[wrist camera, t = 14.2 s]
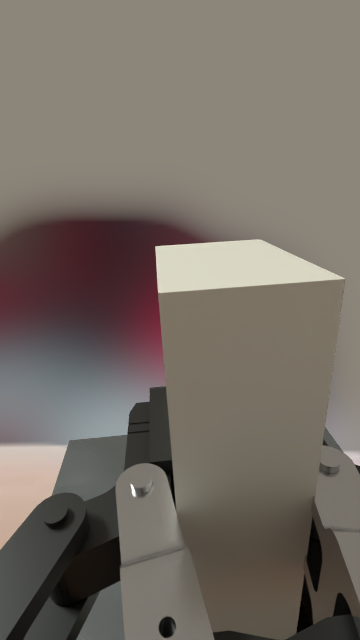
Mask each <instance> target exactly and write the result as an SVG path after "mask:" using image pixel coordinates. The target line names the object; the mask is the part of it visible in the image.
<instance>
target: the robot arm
mask: <svg viewBox="0 0 360 640" xmlns="http://www.w3.org/2000/svg"><path fill="white" fill-rule="evenodd" d="M311 512H312V523H311V530H310V538H309V545H308V552H307V555H305V559H304V566H303V569H304V573H305V577H306V581H307V585H308V589H309V593H310V598H311V603H312V612H313V625H312V626H310V627H308V628H306V629H304V630H302V631H300V632H299V633H297V634H295V635H293V636H291V637H289V638H287V639H285V640H360V466H358V465H355V464H354V463H353V461H352V460H351V459H350V458H349V457H348V456H347V455H346V454H344V453H343V452H341V451H340V450H338V449H335V448H333V447H329V446H328V445H327V443H326V442H325V440H324V439H323V444H322V451H321V458H320V466H319V473H318V480H317V487H316V494H315V496H313V500H312V507H311ZM119 581H121V593H122V607H123V620H124V634H125V640H276V639H271V638H265V637H260V636H255V635H250V634H245V633H240V632H235V631H230V630H228V631H221V632H212V629H211V625H210V621H209V618H208V614H207V610H206V607H205V603H204V600H203V596H202V592H201V589H200V585H199V581H198V578H197V574H196V570H195V567H194V563H193V560H192V556H191V553H190V550H189V547H188V545H185V543H184V540H183V536H182V532H181V529H180V525H179V521H178V517H177V513H176V501H175V489H174V477H173V464H172V452H171V440H170V428H169V416H168V404H167V392H166V386H165V387H154V388H150V402H143V403H136V404H135V406H134V407H133V409H132V410H131V412H130V414H129V426H128V435H127V444H126V454H125V464H124V471H123V473H122V474H121V475H120V477H119V478H118V480H117V482H116V485H115V486H114V487H113V488H111V489H110V490H109V491H107V492H106V493H104V494H101V495H99V496H97V497H94V498H92V499H89V500H87V501H83V499H82V498H81V497H80V496H78V495H77V494H74V493H66V492H65V493H59V494H56V495H53V496H51V497H49V498H47V499H45V500H44V501H42V502H41V503H40V504H39V505H38V506H37V507H36V508H35V509H34V510H33V511H32V512H31V514H30V515H29V516H28V517H27V518H26V520H25V521H24V522H23V523H22V525H21V526H20V527H19V528H18V529H17V531H16V532H15V533H14V534H13V535H12V537H11V538H10V539H9V540H8V541H7V543H6V544H5V545H4V546H3V548H2V549H1V550H0V640H76V639H77V637H78V635H79V633H80V631H81V629H82V627H83V625H84V623H85V621H86V619H87V617H88V615H89V613H90V611H91V609H92V607H93V605H94V603H95V601H96V599H97V597H98V595H99V593H100V591H101V590H103V589H105V588H107V587H109V586H111V585H113V584H115V583H117V582H119Z"/></svg>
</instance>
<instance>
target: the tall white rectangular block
mask: <svg viewBox="0 0 360 640" xmlns="http://www.w3.org/2000/svg"><path fill="white" fill-rule="evenodd" d="M155 248H156V264H157V280H158V294H159V295H158V296H159V307H160V319H161V330H162V331H161V332H162V344H163V355H164V367H165V380H166V392H167V404H168V416H169V428H170V440H171V452H172V464H173V477H174V489H175V501H176V513H177V517H178V521H179V525H180V529H181V532H182V536H183V540H184V543H185V545H188V547H189V550H190V553H191V556H192V560H193V563H194V567H195V570H196V574H197V578H198V581H199V585H200V589H201V592H202V596H203V600H204V603H205V607H206V610H207V614H208V618H209V621H210V625H211V629H212V632H221V631H228V630H230V631H235V632H240V633H245V634H250V635H255V636H260V637H265V638H271V639H276V640H285V639H287V638H289V637H291V636H293V635H295V634H296V631H297V624H298V617H299V609H300V602H301V595H302V588H303V581H304V574H305V573H304V569H303V566H304V559H305V555H307V552H308V545H309V538H310V530H311V523H312V512H311V507H312V500H313V496H315V494H316V487H317V480H318V473H319V466H320V458H321V451H322V444H323V437H324V430H325V422H326V415H327V408H328V401H329V393H330V386H331V379H332V372H333V365H334V358H335V351H336V343H337V335H338V329H339V321H340V315H341V307H342V300H343V293H344V285H345V278H342V277H340V276H338V275H336V274H334V273H331V272H329V271H327V270H325V269H323V268H320V267H319V266H316V265H314V264H312V263H310V262H308V261H305V260H303V259H301V258H299V257H297V256H295V255H292V254H290V253H288V252H286V251H284V250H281V249H279V248H277V247H275V246H273V245H271V244H269V243H266V242H264V241H262V240H260V239H258V240H244V241H228V242H214V243H199V244H185V245H170V246H156V247H155Z"/></svg>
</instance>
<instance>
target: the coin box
mask: <svg viewBox="0 0 360 640" xmlns="http://www.w3.org/2000/svg"><path fill="white" fill-rule="evenodd" d="M323 439H324V440H325V442H326V443H327V445H328V446H329V447H333V448H335V449H338V450H340V451H341V452H343V451H342V450H341V448H340V447H339V445H338V444H337V443H336V441H335V440H334V439H333V437H332V436H331V434H330V433H329V432H328V430H327V429H326V428H325V430H324V437H323ZM126 444H127V435H122V436H111V437H101V438H91V439H80V440H71V441H69V444H68V447H67V450H66V453H65V456H64V459H63V463H62V466H61V469H60V472H59V475H58V478H57V481H56V484H55V487H54V490H53V493H52V496H53V495H56V494H59V493H65V492H66V493H74V494H77V495H78V496H80V497H81V498H82V499H83V501H87V500H89V499H92V498H94V497H97V496H99V495H101V494H104V493H106V492H107V491H109V490H110V489H111V488H113V487H114V486H115V485H116V482H117V480H118V478H119V477H120V475H121V474H122V473H123V471H124V464H125V454H126ZM343 453H344V452H343ZM301 599H302V601H303V604H304V607H305V610H306V612H307V615H308V618H309V621H310V623H311V626H312V625H313V612H312V603H311V598H310V593H309V589H308V585H307V581H306V577H305V574H304V581H303V588H302V595H301ZM76 640H125V634H124V620H123V607H122V593H121V581H119V582H117V583H115V584H113V585H111V586H109V587H107V588H105V589H103V590H101V591H100V593H99V595H98V597H97V599H96V601H95V603H94V605H93V607H92V609H91V611H90V613H89V615H88V617H87V619H86V621H85V623H84V625H83V627H82V629H81V631H80V633H79V635H78V637H77V639H76Z"/></svg>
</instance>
